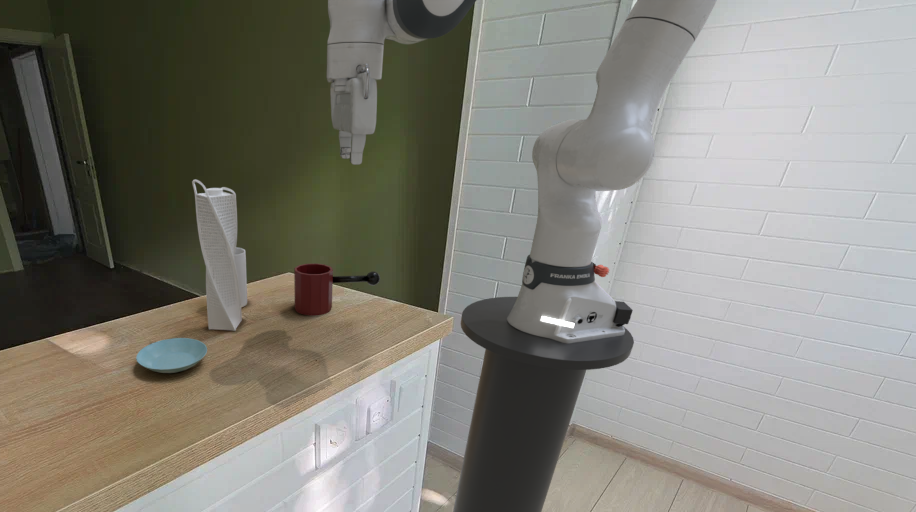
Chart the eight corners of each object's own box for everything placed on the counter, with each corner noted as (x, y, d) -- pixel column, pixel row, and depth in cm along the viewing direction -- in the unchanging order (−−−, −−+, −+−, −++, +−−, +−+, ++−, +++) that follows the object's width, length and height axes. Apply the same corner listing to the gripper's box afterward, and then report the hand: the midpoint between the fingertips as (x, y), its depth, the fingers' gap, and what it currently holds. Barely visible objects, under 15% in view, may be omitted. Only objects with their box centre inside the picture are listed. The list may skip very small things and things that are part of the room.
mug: (224, 297, 112) (220, 246, 106) (252, 299, 111) (249, 247, 105) (208, 314, 103) (203, 259, 97) (238, 316, 102) (235, 260, 96)
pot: (373, 299, 111) (376, 261, 106) (382, 313, 104) (385, 272, 99) (293, 302, 109) (293, 263, 105) (296, 316, 102) (296, 275, 98)
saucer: (131, 382, 77) (129, 370, 76) (145, 350, 88) (143, 338, 87) (205, 379, 78) (204, 367, 77) (210, 347, 89) (209, 336, 88)
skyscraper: (199, 331, 95) (183, 181, 82) (211, 316, 102) (198, 176, 89) (238, 333, 94) (228, 182, 81) (248, 318, 101) (240, 177, 88)
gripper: (390, 62, 68) (383, 167, 74) (360, 71, 85) (356, 155, 92) (346, 62, 67) (342, 168, 73) (325, 71, 85) (324, 155, 91)
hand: (350, 161), depth 83 cm, fingers open, 8 cm apart
